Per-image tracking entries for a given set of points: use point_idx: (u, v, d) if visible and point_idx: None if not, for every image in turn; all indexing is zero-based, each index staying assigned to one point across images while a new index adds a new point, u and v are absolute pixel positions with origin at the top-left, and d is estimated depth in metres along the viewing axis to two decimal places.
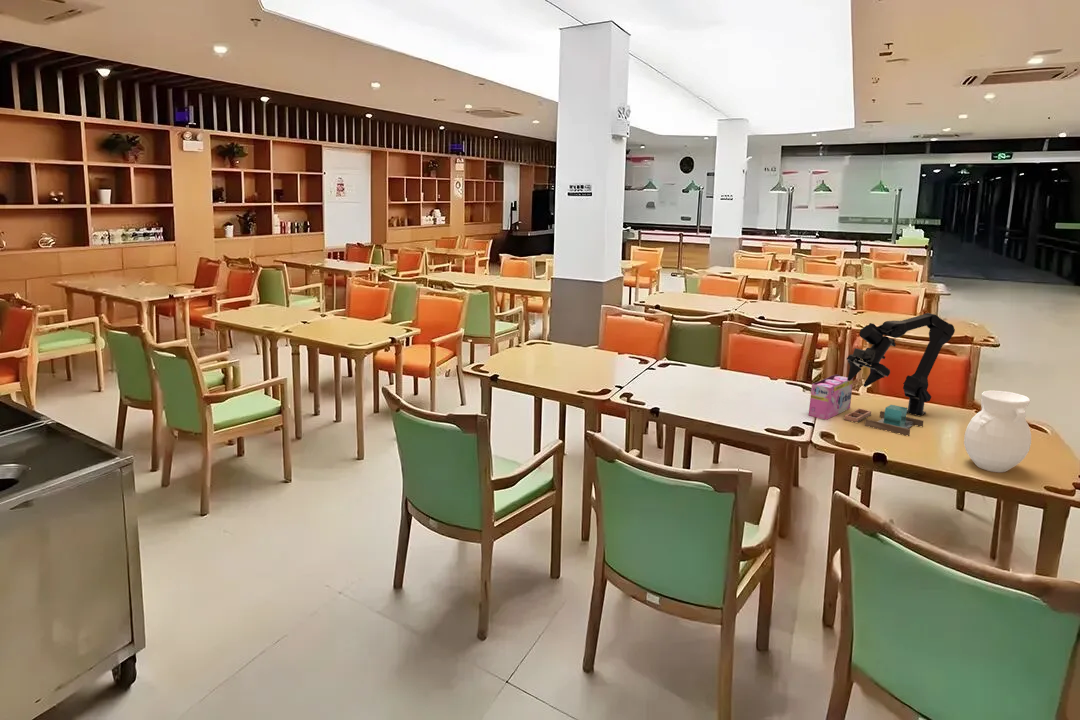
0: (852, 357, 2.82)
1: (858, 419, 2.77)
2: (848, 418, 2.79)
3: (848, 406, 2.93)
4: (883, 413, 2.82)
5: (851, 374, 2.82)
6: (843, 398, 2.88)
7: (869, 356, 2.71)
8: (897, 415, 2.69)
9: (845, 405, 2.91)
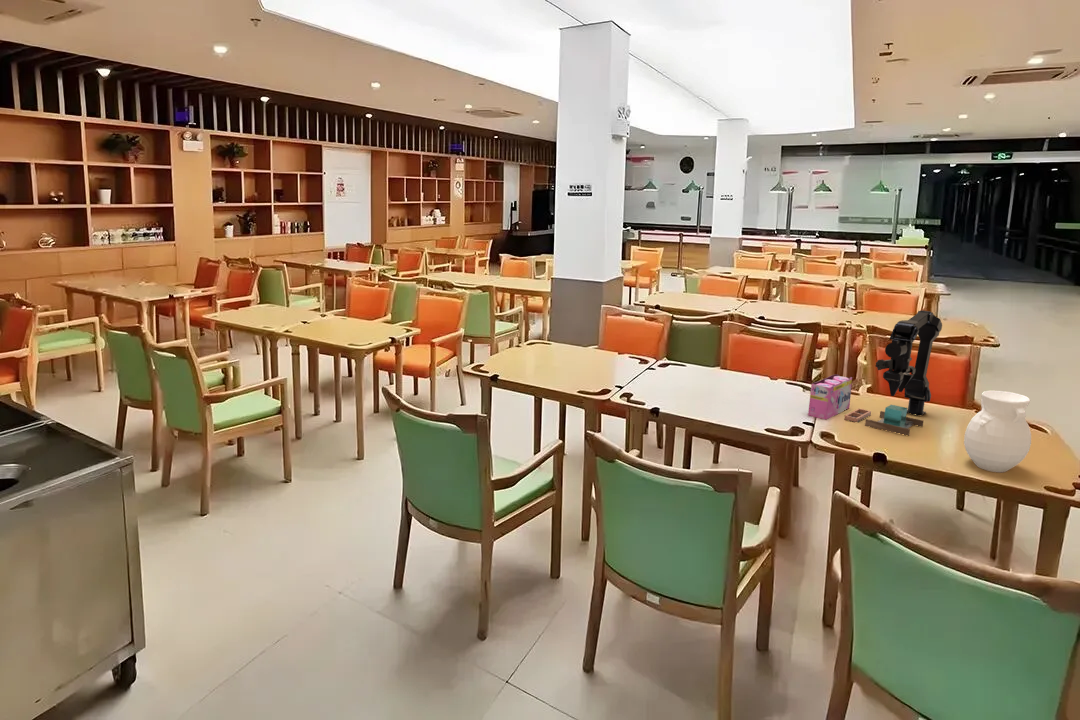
0: None
1: (858, 419, 2.77)
2: (848, 418, 2.79)
3: (847, 406, 2.93)
4: (883, 413, 2.82)
5: (900, 385, 2.74)
6: (843, 398, 2.88)
7: (881, 366, 2.69)
8: (897, 415, 2.69)
9: (844, 405, 2.91)
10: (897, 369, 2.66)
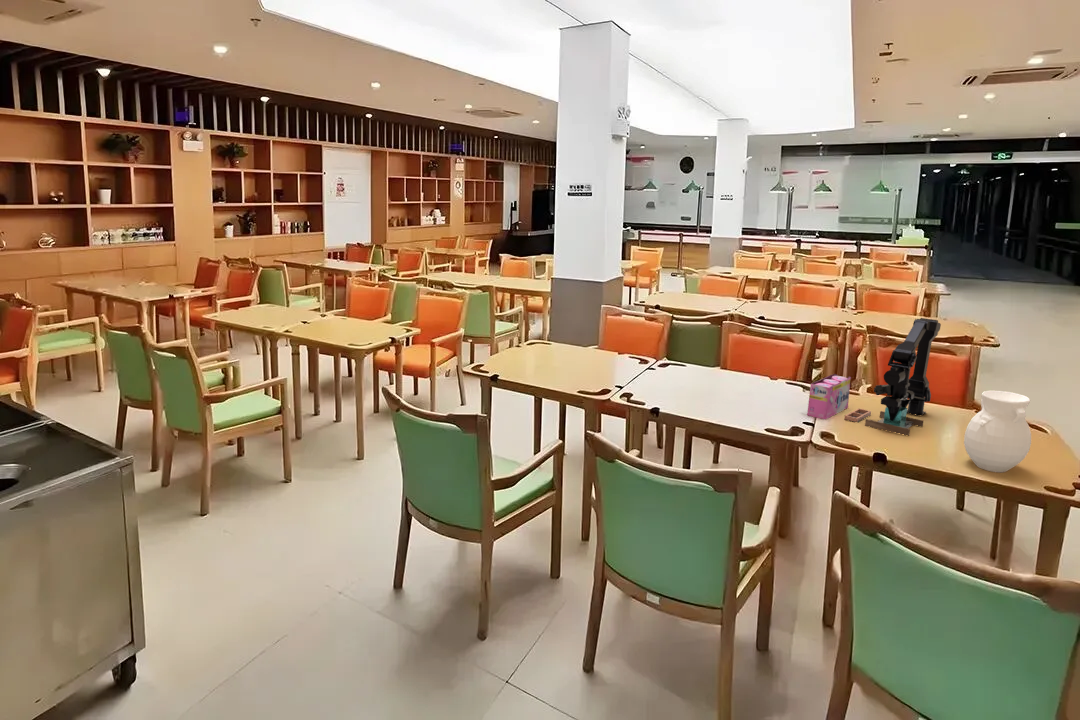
0: None
1: (858, 419, 2.77)
2: (848, 418, 2.79)
3: (846, 406, 2.94)
4: (883, 413, 2.82)
5: None
6: (842, 397, 2.89)
7: (879, 391, 2.71)
8: (897, 415, 2.69)
9: (843, 404, 2.91)
10: (895, 395, 2.69)
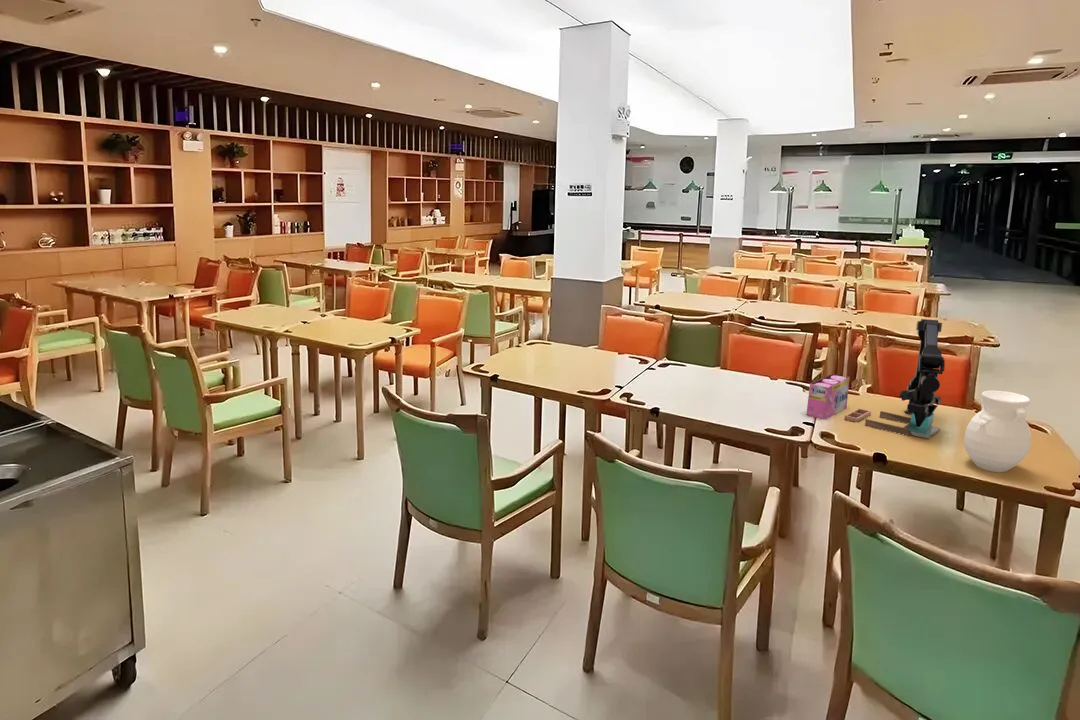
0: None
1: (858, 419, 2.77)
2: (848, 418, 2.79)
3: (845, 405, 2.94)
4: (883, 413, 2.82)
5: None
6: (840, 397, 2.89)
7: (905, 397, 2.65)
8: None
9: (842, 404, 2.92)
10: (922, 400, 2.62)
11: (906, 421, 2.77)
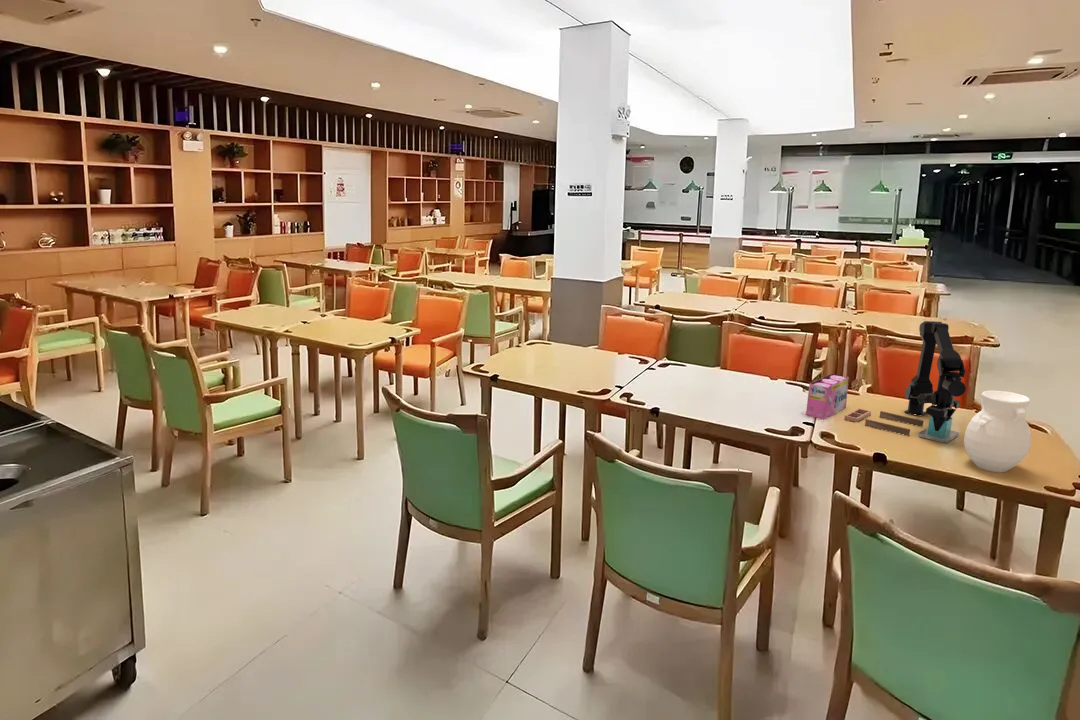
0: None
1: (858, 419, 2.77)
2: (848, 418, 2.79)
3: (844, 405, 2.94)
4: (883, 413, 2.82)
5: None
6: (840, 397, 2.89)
7: (923, 400, 2.60)
8: (942, 425, 2.58)
9: (841, 404, 2.92)
10: (940, 404, 2.58)
11: (906, 421, 2.77)
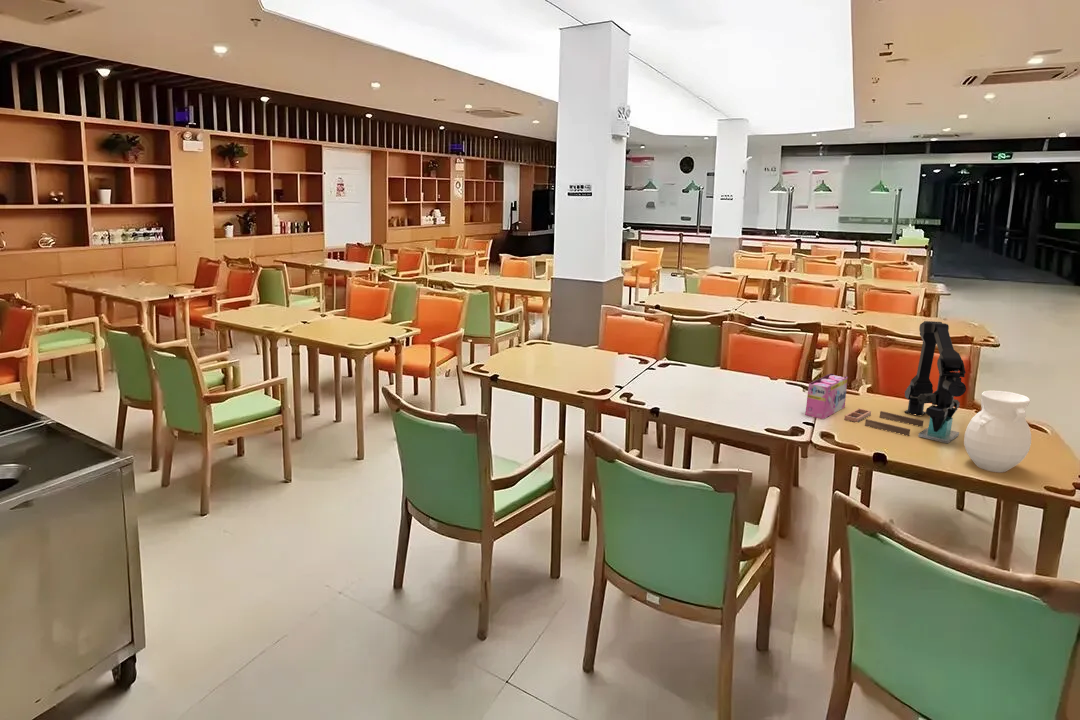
0: None
1: (858, 419, 2.77)
2: (848, 418, 2.79)
3: (843, 405, 2.95)
4: (883, 413, 2.82)
5: None
6: (839, 397, 2.89)
7: (923, 401, 2.60)
8: (942, 425, 2.58)
9: (840, 404, 2.92)
10: (941, 404, 2.58)
11: (906, 421, 2.77)
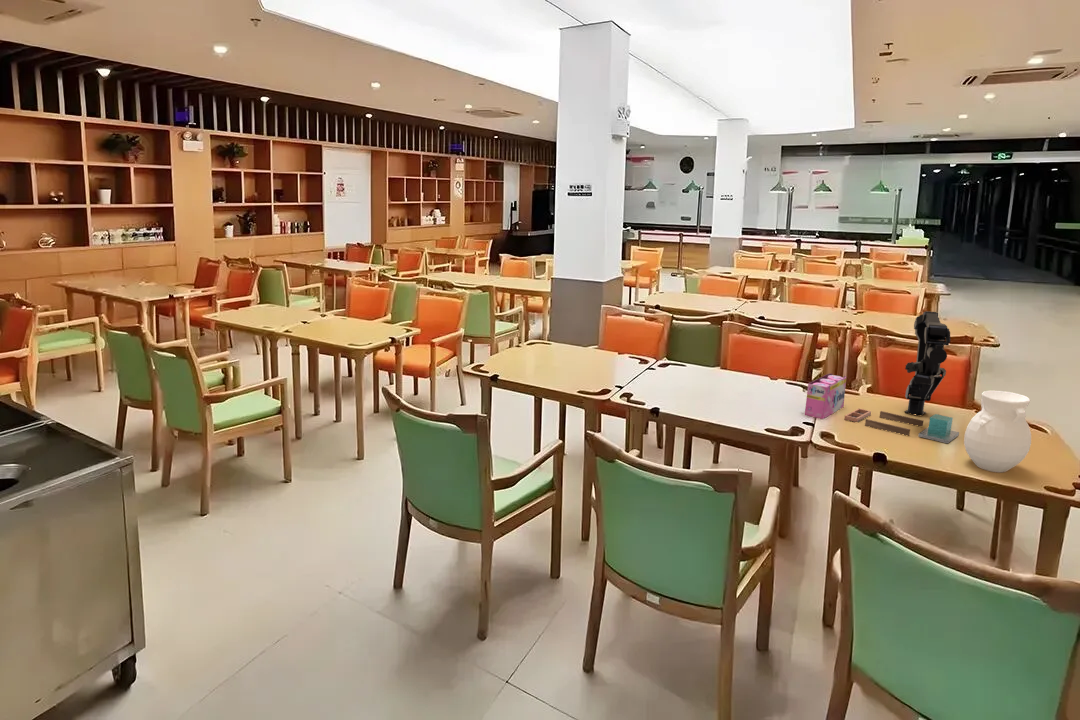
0: None
1: (858, 419, 2.77)
2: (848, 418, 2.79)
3: (842, 405, 2.95)
4: (883, 413, 2.82)
5: (930, 387, 2.72)
6: (838, 397, 2.89)
7: (911, 369, 2.67)
8: (942, 425, 2.58)
9: (839, 403, 2.92)
10: (927, 372, 2.64)
11: (906, 421, 2.77)
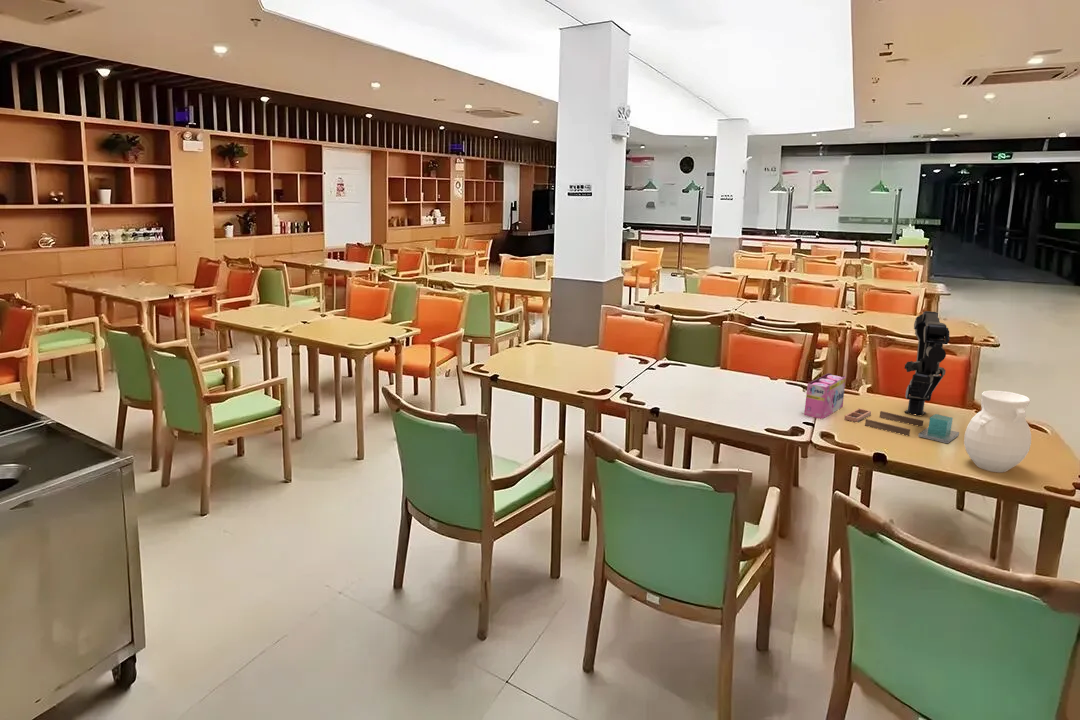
0: None
1: (858, 419, 2.77)
2: (848, 418, 2.79)
3: (841, 405, 2.95)
4: (883, 413, 2.82)
5: (929, 386, 2.72)
6: (837, 396, 2.90)
7: (910, 368, 2.67)
8: (942, 425, 2.58)
9: (839, 403, 2.92)
10: (927, 371, 2.65)
11: (906, 421, 2.77)
